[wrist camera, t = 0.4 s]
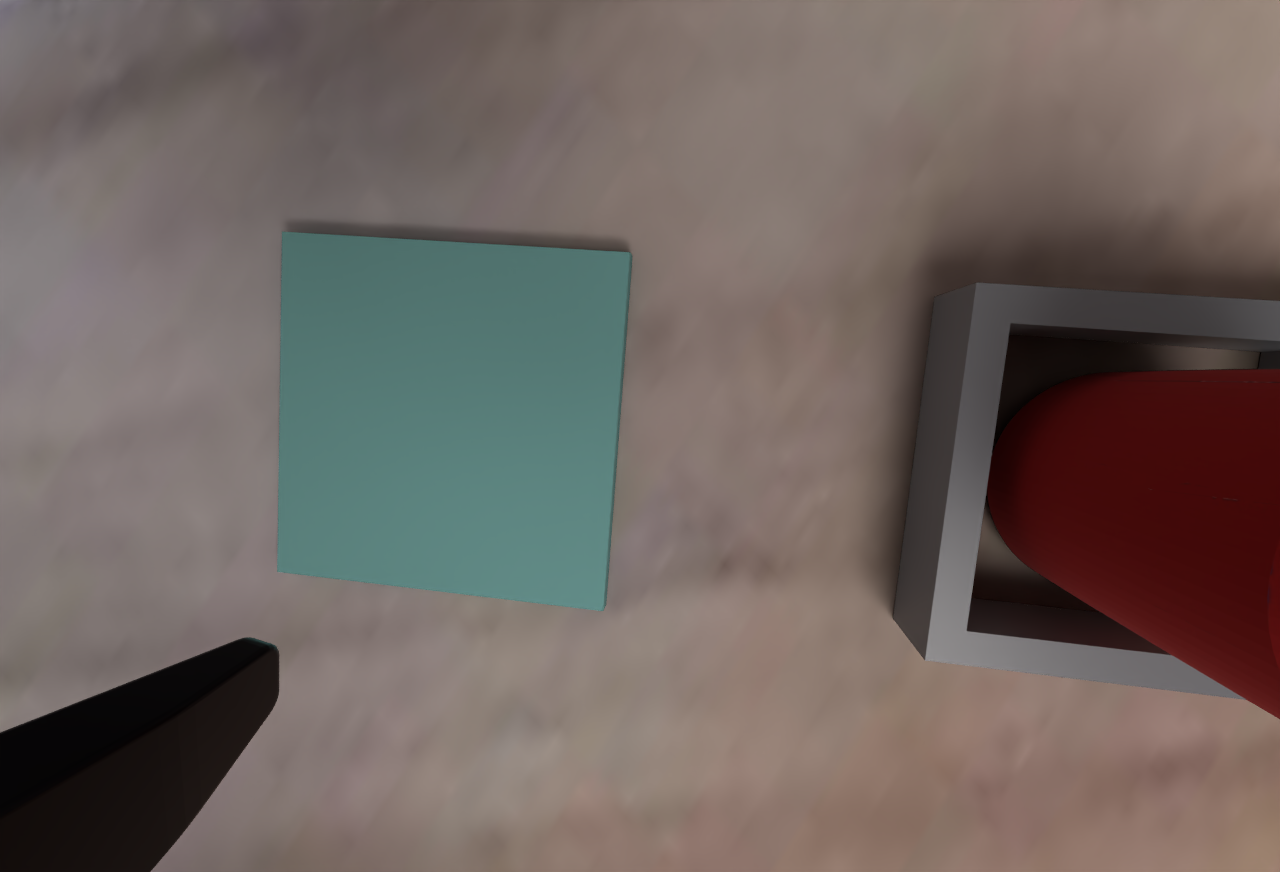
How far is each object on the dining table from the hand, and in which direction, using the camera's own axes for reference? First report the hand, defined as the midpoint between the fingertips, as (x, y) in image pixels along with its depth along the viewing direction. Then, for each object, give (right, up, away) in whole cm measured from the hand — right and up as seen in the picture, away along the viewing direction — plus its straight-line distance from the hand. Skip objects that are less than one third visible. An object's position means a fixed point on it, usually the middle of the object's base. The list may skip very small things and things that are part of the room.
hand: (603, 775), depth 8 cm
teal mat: (-6, +5, +14) cm, 16 cm away
